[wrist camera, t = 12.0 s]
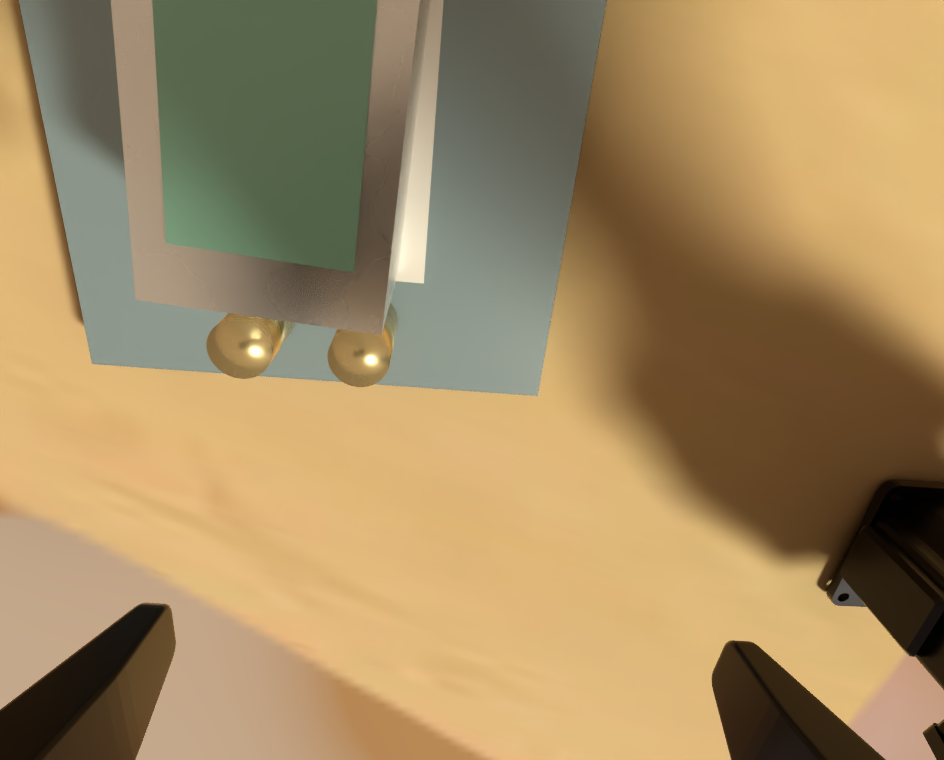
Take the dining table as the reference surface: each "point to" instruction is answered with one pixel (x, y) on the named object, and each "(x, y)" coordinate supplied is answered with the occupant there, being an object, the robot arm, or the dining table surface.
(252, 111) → the block
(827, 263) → the dining table surface
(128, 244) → the pin tray
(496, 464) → the dining table surface
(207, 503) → the dining table surface
